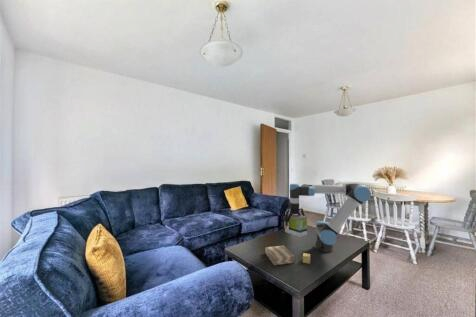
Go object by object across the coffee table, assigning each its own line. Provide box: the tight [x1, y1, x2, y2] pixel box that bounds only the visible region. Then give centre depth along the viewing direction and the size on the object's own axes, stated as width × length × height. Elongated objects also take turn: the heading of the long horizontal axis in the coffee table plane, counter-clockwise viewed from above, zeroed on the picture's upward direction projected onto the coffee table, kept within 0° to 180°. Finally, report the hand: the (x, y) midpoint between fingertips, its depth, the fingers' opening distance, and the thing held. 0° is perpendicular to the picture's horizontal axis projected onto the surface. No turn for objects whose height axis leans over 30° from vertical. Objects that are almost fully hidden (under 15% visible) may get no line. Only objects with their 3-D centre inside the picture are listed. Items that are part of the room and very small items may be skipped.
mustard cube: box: [302, 252, 311, 265], centre depth 155 cm, size 5×5×5 cm
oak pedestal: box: [264, 245, 296, 266], centre depth 161 cm, size 16×19×5 cm
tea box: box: [284, 214, 308, 238], centre depth 168 cm, size 15×10×15 cm
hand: (294, 228), depth 169 cm, fingers closed on tea box, 12 cm apart
